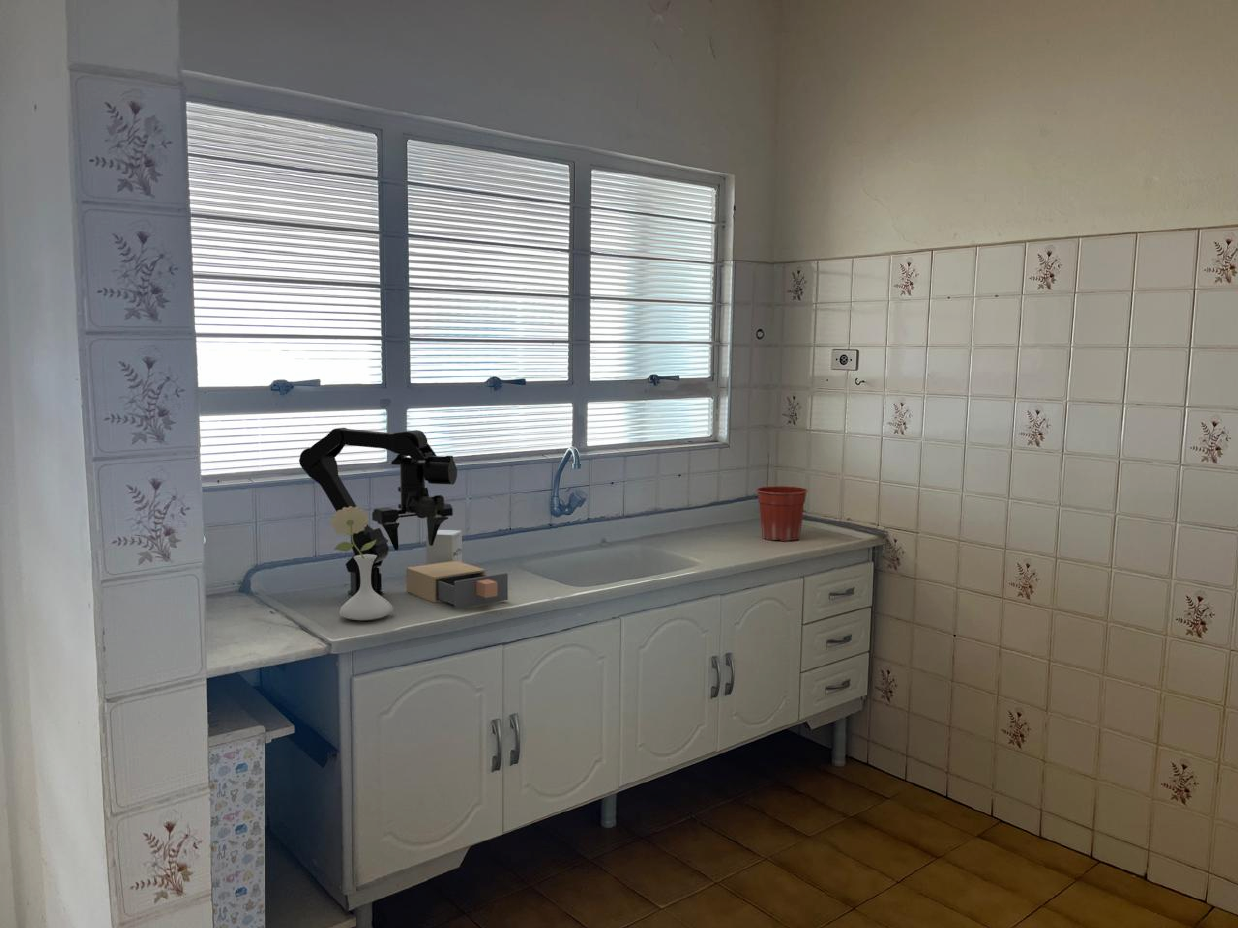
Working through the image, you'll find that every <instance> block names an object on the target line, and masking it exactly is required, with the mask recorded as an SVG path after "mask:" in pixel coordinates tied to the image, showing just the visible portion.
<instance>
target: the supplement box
mask: <svg viewBox="0 0 1238 928" xmlns="http://www.w3.org/2000/svg"><path fill="white" fill-rule="evenodd" d="M462 535H463V531H462V530H457V529H438V532H437V535H436V538H435V540H434V543H433V546H430V545H429V541H428V533H427V534H425V544H426V545H425V546H426V547H425V548H426V549H425V552H426V556H425V557H426V560H425V561H426V564H425V565H429V564H436V563H443V562H450V561H459V562H462V563H463V536H462Z"/></svg>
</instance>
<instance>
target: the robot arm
mask: <svg viewBox="0 0 1238 928" xmlns="http://www.w3.org/2000/svg"><path fill="white" fill-rule="evenodd" d="M345 446H352V447H362V448H363V447H364V448H375V449H384V450H387V451H389V452H392V453H393V454H397V455H396V457H395V458H394V459H393V460H392V461H391V465H399V473H400V474H399V477H400V486H399V487H397V492H400V503H398V504H397V505H398V509H395V508H393V507H378V508H374V510H373V511H372V513H371V518H372V519H371V521H374V522H377V524H379V525H381V526H382V527H383V530H385V533H386V534H387V537H388V538H389V540H388V539H387V538H386V537H385V535H384V534H383V531H382V529H381V528H380V527H378V528H375V529H374V528H372V527H371V526H369V523H368V524H367V526H366V527H364V528H365V529H364V530H363V531H360V532H359V533H354V534H353V541H354V543H355V545H356V547H357V548H358V549H359V550H360V552H361V553H362V555H363V554H372V555H376V556H377V557H376V559H375V560H374V562H373V565H372V569H371V585H372V588H373V590H374V591H375V592H376V593H377V594H378V595H383V594H384V591H382V590H383V589H382V588H383V584H382V583H383V582H382V580H383V579H382V576H383V575H382V573H380V572H381V571H380V569H381V568H379V567H381V566H382V565H383V562H384V560H385V559H386V558H387V556H388V554H389V551H390V548H389V545H388V543H389V541H390V543H391V545H392V547H393V549H394V551H399V533H398V530H399V529H398V528H399V527H400V522H397V521H398V520H399V518H400V519H401V518H406V517H407V518H408V517H417V518H418V519H419V518H420V519H426V526H427V527H426V528H427V534H428V541H429V545H430V546H433V543H434V540H435V538H436V535H437V532H438V530H440V527H441V524H442V523H443V522H444V521H446V520H448V519H449V517H452V516H454V509H453V506H452V505H451V504H450V503H447V502H445V497H444V496H443V495H442V494H436V495H434V496H430V494H429V490H428V489H429V488H428V487H426V482H428V484H430V485H451V486H452V485H455V483H456V481H457V477H458V468H457V466H456V462H455V461H454V456H453V455H443V456H441V455H440V456H439V455H437V454H436V453H435V451H434V450H433V448H432V447H431V446H430V444H429V443H428V438H427V436H426V435H425V434H424V431H421V430H418V429H417V430H416V429H415V430H413V429H412V430H403V431H395V432H385V431H384V432H383V431H373V430H364V429H351V428H347V427H338V428H333V429H331V430H330V431H329V433H328V434H326V435H325V436H324V437H323V438H321V439H319V440H318V441H317V442H316V443H314V444H313V445H311V447H307V448H305V449H303V451H301V453H300V455H299V459H298V463H299V466H300V468H301V469H302V470H303V471H304V472H305V473H306V475H308V477H309V478H310V479H312V480H313V481H315V482H316V483H317V484H319V486H321V488H322V490H323V492H324V493H325V495H326V497H327V498H328V500H329V501H330V504H331V505H332V507H333V509H334V510H335V513H336V512H337V511H338V510H342V508H344V507H346V508H348V507H349V506H352V507H353V508H354V507H358V506H357V505H356V503H355V501H354V500H353V497H352V496H351V495H350V493H349V491H348V489H347V488H346V486H345V484H344V483H343V481H342V479H341V478H340V476H339V470H338V469H339V468H338V463H337V462H338V461H337V460H336V457H337V456H338V455H339V454H341V452H342V450H343V449H344V447H345ZM358 510H360V509H359V508H358ZM349 536H350V543H352V537H351V535H349ZM374 540H376V542H375V544H374V545H373V546H372V547H371V548H370V549H368V550H364V551H361V548H362V547H363V546H364V545H365V544H367V543H370V542H372V541H374ZM352 544H353V543H352ZM351 550H352V551H353V554H354V555H353V556H352V557H351V558H349V560H348V561H347V562H346V563H345V567H346V569H347V572H348V573H349V575H350V577H349V578H350V590H348V591H347V593H348V595H352V597H353V596H354V595H355V594H356V593H357V592H358V591H359V589H360V584H361V579H360V570H359V566H358V564H357V562H356V560H355V559H354V558H353V557H354V556H357V555H360V553H359V552H358V550H357V549H356V548H355V546H354V545H353V547H352V548H351Z"/></svg>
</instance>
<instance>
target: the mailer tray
mask: <svg viewBox="0 0 1238 928" xmlns="http://www.w3.org/2000/svg"><path fill="white" fill-rule="evenodd" d="M508 575H509V574H508V573H507V572H505V573H497V574H491V575H487V574H485V575H484V574H481V573H474V574H468V575H461V576H455V577H449V578H442V579H436V595H437V599H440V600H443V601H442V602H446V603H449V604H451V605H453V606H454V610H461V609H465V608H472V607H476V606H481V605H482V606H483V605H488V604H492V603H498V602H505V601H508V600H509V599H508V597H509V596H508V593H509V591H508V587H509V586H508V585H509V584H508V578H509V577H508Z"/></svg>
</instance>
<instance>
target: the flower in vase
mask: <svg viewBox="0 0 1238 928" xmlns="http://www.w3.org/2000/svg"><path fill="white" fill-rule="evenodd" d="M358 509H359V507H358V506H357V507H354V508H353V507H352V506H349V507H348V508H346V507H344V508H342V510H338V511H337V512H336V511H335V513H334V515H333V516H332V519H331V520H330V524H331V527H332V528H334V529H333V530H334V532H336V533H337V534H344V536H350V535H351V536H350V538H351V537H352V543H353V544H352V543H351V542H348V541H342V542H340V543H338V544H337V545H336V546H335V547H334V550H335V551H341V552H349V551H350V550H352V547H353V545H354V546H355V548H356V549H357V550H358V552H359V553H360V555H357V556H354V555H353V556H354V557H353V556H352V557H353V558H354V559H355V560H356V562H357V564H358V566H359V570H360V579H361V584H360V589H359V591H358V592H357V593H356V594H355V595H354V596H353V595H352V597H350V598H349V599H348V600H347V601H346V602H345V603H343V605H342V606H341V607H340V610H339V614H340V615H341V616H342V617H343V618H345V619H349V620H354V621H370V620H371V621H372V620H377V619H381V618H384V617H387V616H388V615H390V614H391V613H392V612H393V610H394V609H393V606H392V603H390V602H389V601H388V600H387V599H385V598H384V597H383V596H382V595H381V594H379V595H378V594H377V593H376V592H375V591H374V590H373V588H372V585H371V569H372V565H373V562H374V560H375V559H376V557H377V556H376V555H372V554H363V555H362V553H361V552H360V550H359V549H358V548H357V547H356V545H355V543H354V541H353V534H354V533H359V532H360V531H363V530H364V529H365V528H364V527H366V526H367V524H368V525H369V523H370V521H369V516H368V515H367V513H366V510H364V509H359V510H358ZM375 542H376V540H374V541H372V542H370V543H367V544H365V545H364V546H363V547H362V548H361V551H364V550H368V549H370V548H371V547H372V546H373V545H374V544H375Z"/></svg>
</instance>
